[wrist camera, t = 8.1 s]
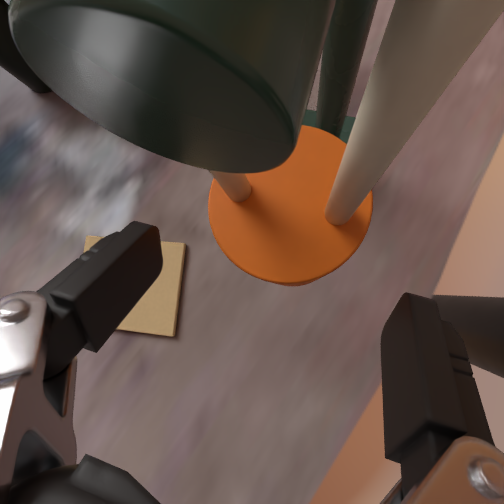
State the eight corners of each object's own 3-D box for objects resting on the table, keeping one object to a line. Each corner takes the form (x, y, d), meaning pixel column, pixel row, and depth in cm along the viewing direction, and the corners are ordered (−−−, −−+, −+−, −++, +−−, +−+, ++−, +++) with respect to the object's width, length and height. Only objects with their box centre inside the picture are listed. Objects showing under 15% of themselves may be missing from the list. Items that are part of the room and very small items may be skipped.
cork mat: (186, 244, 33) (184, 243, 32) (175, 335, 32) (172, 336, 31) (89, 236, 35) (86, 235, 34) (75, 322, 34) (71, 323, 33)
